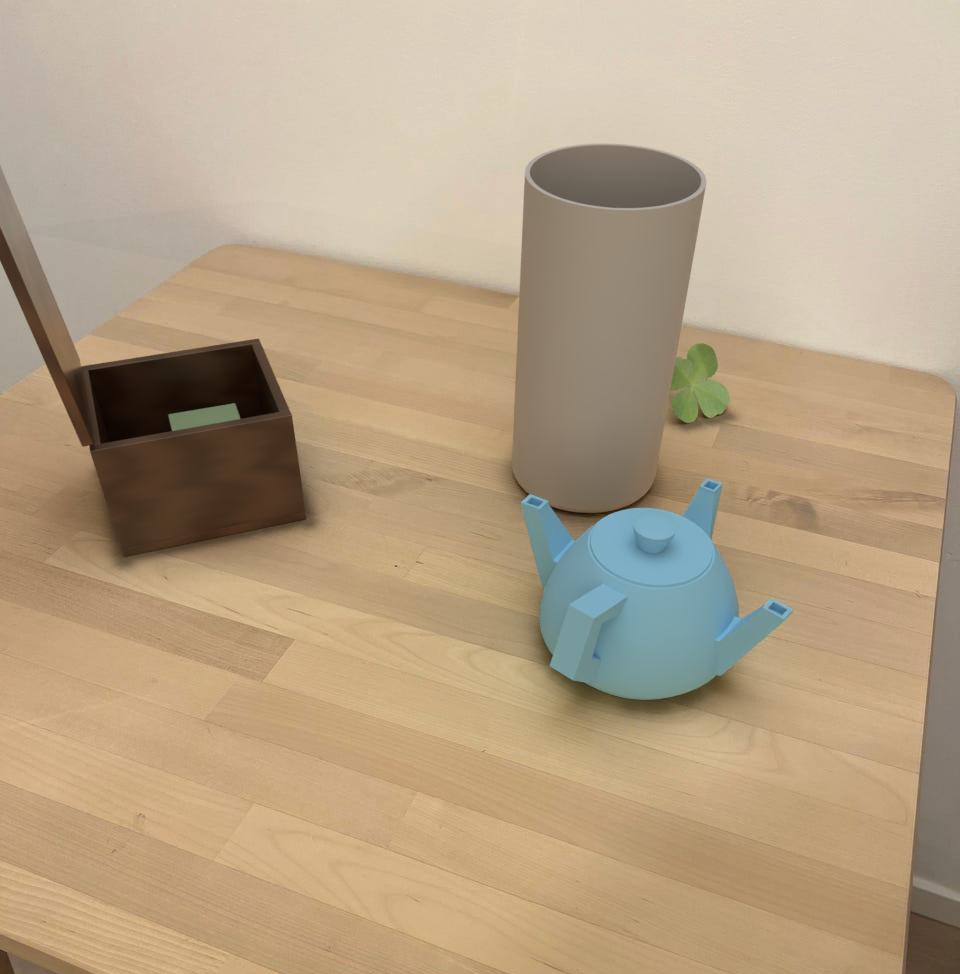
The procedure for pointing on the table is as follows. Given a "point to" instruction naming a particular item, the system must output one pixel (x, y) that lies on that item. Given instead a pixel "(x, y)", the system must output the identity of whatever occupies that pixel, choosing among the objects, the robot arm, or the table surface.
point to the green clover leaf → (698, 385)
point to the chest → (192, 446)
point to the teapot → (642, 599)
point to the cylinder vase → (600, 319)
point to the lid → (42, 312)
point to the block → (203, 416)
